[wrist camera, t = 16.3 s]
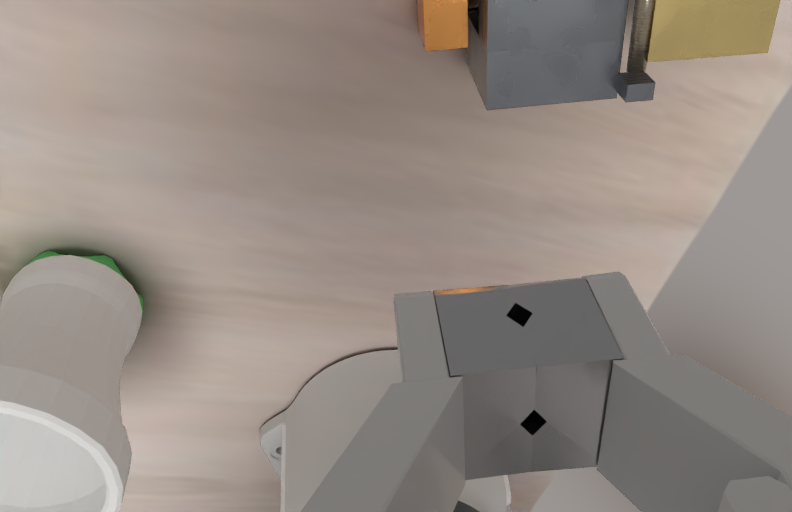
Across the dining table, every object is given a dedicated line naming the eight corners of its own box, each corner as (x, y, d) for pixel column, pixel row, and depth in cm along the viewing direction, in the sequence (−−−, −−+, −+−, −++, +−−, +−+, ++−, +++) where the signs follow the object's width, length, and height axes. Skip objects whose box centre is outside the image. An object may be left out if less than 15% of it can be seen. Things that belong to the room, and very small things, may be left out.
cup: (176, 366, 48) (128, 559, 37) (0, 355, 47) (-108, 555, 35) (173, 226, 42) (114, 406, 31) (-31, 208, 41) (-175, 392, 29)
